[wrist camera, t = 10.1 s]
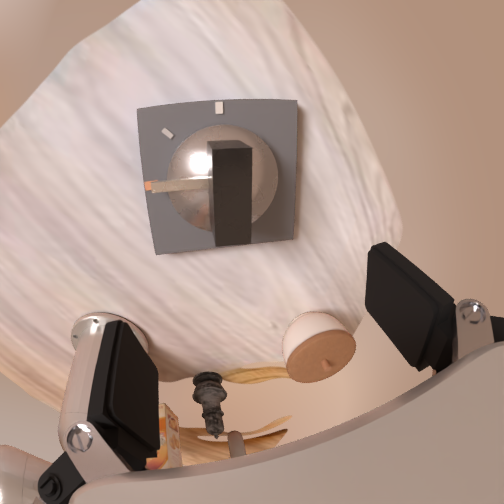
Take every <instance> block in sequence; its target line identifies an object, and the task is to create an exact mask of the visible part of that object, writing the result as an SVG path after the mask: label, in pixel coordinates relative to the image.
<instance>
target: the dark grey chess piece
mask: <svg viewBox="0 0 504 504" xmlns="http://www.w3.org/2000/svg"><path fill="white" fill-rule="evenodd" d="M221 383H222V377H221V376H220V375H219V374H217V373H215V372H203V373H200V374H197V375H196V376H195V377H194V378H193V384H194V385H195V386H196V388H195V391H194V394H193V399H194V401H196V402H197V403H199V404H202V407H203V413H202V417H203V418H204V419H205V423H206V430H207V432H208V433H209V434H211V435H215V438H216V439H217V438H218V437H219V436H218V435H219V434H221V433H222V432H223V431H224V425H223V420H222V416H223V415H224V413H223V412H222V411H221V407H220V402H222V401H224V400H225V399H226V397H227V393H226V391H225V390H224V388H223V387H222V386H221Z"/></svg>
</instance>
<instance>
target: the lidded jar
mask: <svg viewBox="0 0 504 504" xmlns="http://www.w3.org/2000/svg"><path fill="white" fill-rule="evenodd" d="M355 350H356V342H355V340H354V338H353V337H352V335H351V334H350V333H349V332H348V331H347V329H346V328H345V327H344V326H343V325H342V323H341V322H340V321H338V320H337V319H336V318H334V317H333V316H331V315H329V314H326V313H321V312H307V313H303V314H301V315H299V316H297V317H296V318H295V319H294V320H292V322H291V323H290V324H289V326H288V328H287V330H286V331H285V334H284V336H283V340H282V353H283V358H284V362H285V364H286V368H287V372H288V374H289V376H290V377H291V378H292V379H293V380H295V381H297V382H302V383H312V382H317V381H320V380H323V379H326V378H328V377H330V376H332V375H334V374H335V373H337V372H338V371H340V370H341V369H342V368H343V367H345V365H347V364H348V362H349V361H350V360H351V359H352V357H353V355H354V353H355Z"/></svg>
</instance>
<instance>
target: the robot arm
mask: <svg viewBox="0 0 504 504" xmlns="http://www.w3.org/2000/svg"><path fill="white" fill-rule="evenodd" d="M365 306H366V309H367V311H368V312H369V313H370V315H371V316H372V317H373V318H374V320H375V321H376V322H377V323H378V325H379V326H380V327H381V328H382V330H383V331H384V332H385V333H386V335H387V336H388V337H389V338H390V340H391V341H392V342H393V344H394V345H395V346H396V347H397V349H398V350H399V351H400V353H401V354H402V355H403V357H404V358H405V359H406V360H407V362H408V363H409V364H410V365H411V366H412V367H416V369H417V370H418V371H419V372H420V371H421V370H423V369H425V368H426V367H428V366H429V365H430V366H431V367H432V369H433V374H432V377H431V378H429V379H428V380H426V381H424V382H423V383H421V384H419V385H418V386H416V387H414V388H413V389H411V390H409V391H407V392H406V393H404V394H402V395H400V396H398V397H396V398H395V399H393V400H391V401H389V402H387V403H385V404H383V405H381V406H379V407H377V408H375V409H373V410H371V411H369V412H367V413H365V414H363V415H360V416H358V417H356V418H354V419H351V420H350V421H347V422H345V423H342V424H340V425H337V426H335V427H332V428H330V429H328V430H325V431H323V432H320V433H317V434H314V435H311V436H309V437H306V438H303V439H300V440H297V441H294V442H291V443H288V444H285V445H281V446H278V447H274V448H271V449H267V450H264V451H260V452H256V453H252V454H248V455H244V456H240V457H235V458H230V459H226V460H221V461H215V462H210V463H204V464H197V465H190V466H183V467H176V468H167V469H157V470H151V469H150V468H149V467H148V466H147V465H146V464H147V460H146V458H156V457H157V450H159V449H160V428H159V401H158V400H159V398H158V371H157V368H156V366H155V365H154V363H153V362H152V360H151V359H150V357H149V356H148V352H149V347H148V342H147V339H146V337H145V336H144V334H143V333H142V332H141V331H140V330H139V329H138V328H137V327H136V326H135V325H134V324H132V323H131V322H129V321H127V320H126V319H124V318H121V317H119V316H116V315H112V314H108V313H91V314H87V315H84V316H82V317H81V318H79V319H78V320H77V321H76V322H75V324H74V326H73V329H72V331H71V341H72V344H73V347H74V349H75V350H76V352H75V355H74V359H73V363H72V366H71V370H70V374H69V378H68V382H67V386H66V390H65V394H64V399H63V403H62V408H61V413H60V419H59V425H58V436H59V441H60V444H61V446H62V449H63V450H64V453H63V454H62V455H61V456H60V457H59V458H58V459H57V460H56V461H55V462H54V463H50V462H48V461H45V460H43V459H41V458H38V457H36V456H34V455H31V454H29V453H27V452H24V451H22V450H20V449H17V448H15V447H12V446H9V445H0V504H504V318H502V317H495V316H490V315H489V312H488V309H487V308H486V307H485V306H484V305H483V304H482V303H481V302H479V301H477V300H474V299H464V300H461V301H460V302H459V303H458V304H457V306H456V305H455V304H454V299H453V298H452V297H451V296H450V295H449V294H448V293H447V292H446V291H444V290H443V289H442V288H441V287H440V286H439V285H438V284H437V283H435V282H434V281H433V280H432V279H431V278H430V277H428V276H427V275H426V274H425V273H424V272H423V271H421V270H420V269H419V268H418V267H417V266H415V265H414V264H413V263H412V262H410V261H409V260H408V259H407V258H406V257H404V256H403V255H402V254H401V253H399V252H398V251H397V250H396V249H394V248H393V247H392V246H390V245H389V244H388V243H386V242H382V243H379V244H376V245H373V246H372V247H371V250H370V251H369V252H368V262H367V282H366V296H365Z"/></svg>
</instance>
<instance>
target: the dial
mask: <svg viewBox="0 0 504 504" xmlns="http://www.w3.org/2000/svg"><path fill="white" fill-rule="evenodd" d="M277 184H278V169H277V164H276V160H275V158H274V155H273V153H272V151H271V150H270V148H269V147H268V145H267V144H266V143H265V142H264V141H263V140H262V139H261V138H260V137H259V136H257V135H256V134H254V133H253V132H251V131H249V130H247V129H244V128H241V127H238V126H234V125H227V124H219V125H212V126H208V127H205V128H202V129H199V130H198V131H196V132H194V133H192V134H191V135H190V136H188V137H187V138H186V139H185V140H184V141H183V142H182V143H181V144H180V145H179V147H178V148H177V149H176V151H175V153H174V154H173V157H172V159H171V161H170V164H169V168H168V173H167V180H165V181H155V182H151V191H152V193H159V192H168V194H169V197H170V200H171V202H172V204H173V206H174V208H175V209H176V211H177V212H178V213H179V214H180V216H181V217H182V218H183V219H185V220H186V221H187V222H188V223H190V224H191V225H193V226H195V227H197V228H199V229H202V230H205V231H210V232H213V237H214V242H215V246H216V247H221V246H232V245H244V244H251V234H252V223H253V222H254V221H256V220H257V219H258V218H259V217H260V216H261V215H262V214H263V213H264V212H265V211H266V210H267V208H268V207H269V205H270V204H271V202H272V200H273V198H274V195H275V193H276V189H277Z"/></svg>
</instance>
